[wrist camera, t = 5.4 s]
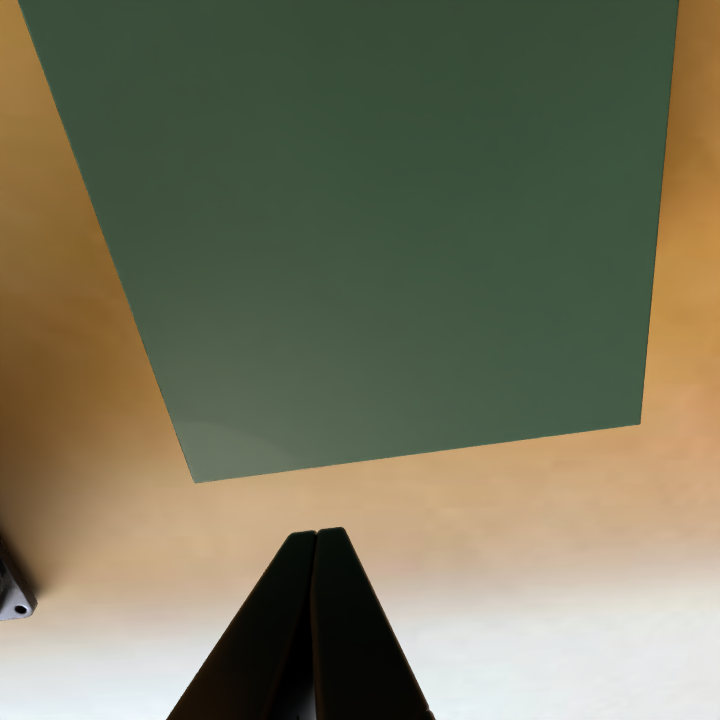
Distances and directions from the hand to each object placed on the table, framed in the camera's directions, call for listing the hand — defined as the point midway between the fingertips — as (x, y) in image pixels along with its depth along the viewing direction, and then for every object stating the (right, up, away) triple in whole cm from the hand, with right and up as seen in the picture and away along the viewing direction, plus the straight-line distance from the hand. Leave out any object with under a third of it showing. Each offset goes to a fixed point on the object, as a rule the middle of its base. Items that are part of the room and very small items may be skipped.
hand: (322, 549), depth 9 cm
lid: (+1, +7, +3) cm, 8 cm away
